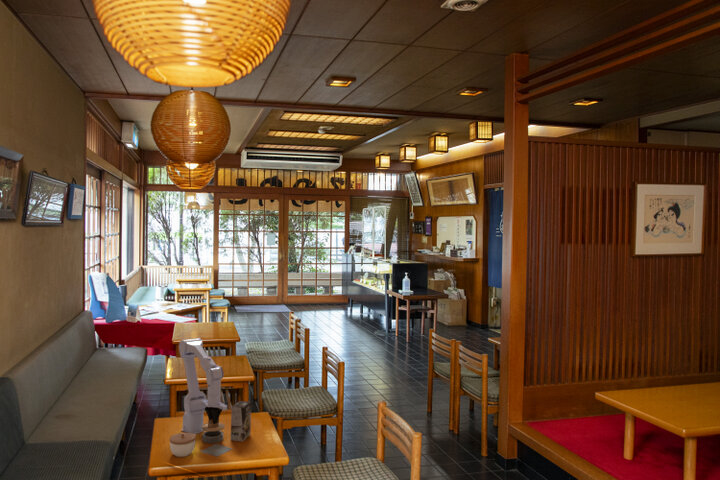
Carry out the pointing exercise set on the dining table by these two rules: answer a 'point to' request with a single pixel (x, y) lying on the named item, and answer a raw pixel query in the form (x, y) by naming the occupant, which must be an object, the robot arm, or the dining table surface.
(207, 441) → the bowl
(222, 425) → the lid
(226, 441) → the dining table surface
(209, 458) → the dining table surface
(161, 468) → the dining table surface
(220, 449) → the mat
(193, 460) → the dining table surface
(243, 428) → the coffee box
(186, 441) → the lidded jar
